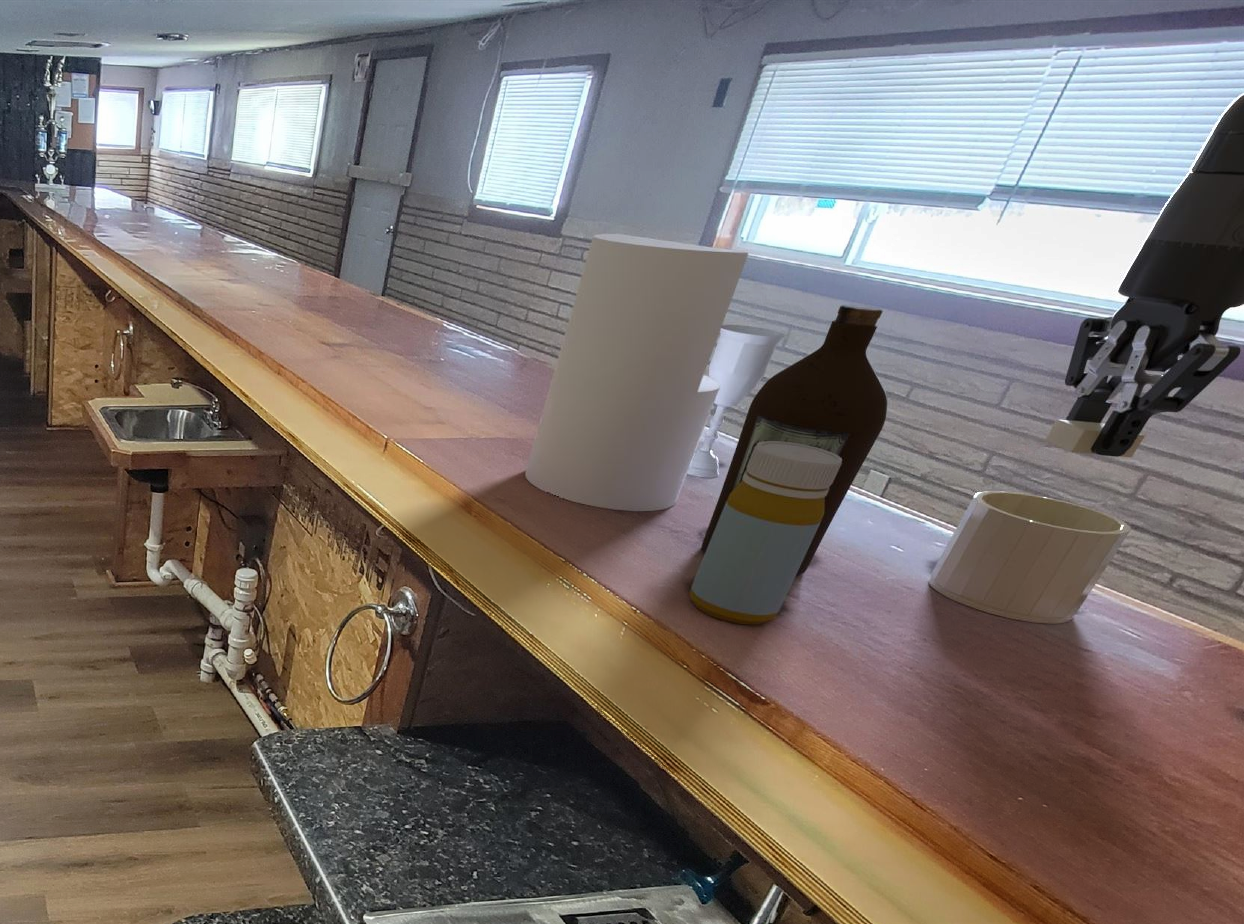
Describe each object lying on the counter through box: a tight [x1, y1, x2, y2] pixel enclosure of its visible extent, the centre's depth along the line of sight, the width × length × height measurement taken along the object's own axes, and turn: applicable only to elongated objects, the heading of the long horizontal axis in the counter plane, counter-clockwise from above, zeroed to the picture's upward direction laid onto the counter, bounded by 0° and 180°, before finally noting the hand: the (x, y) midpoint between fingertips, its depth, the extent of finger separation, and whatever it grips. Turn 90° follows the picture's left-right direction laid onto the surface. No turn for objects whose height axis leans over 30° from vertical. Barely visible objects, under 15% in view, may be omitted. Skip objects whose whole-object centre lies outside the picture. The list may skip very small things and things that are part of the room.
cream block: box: [1044, 419, 1146, 458], centre depth 81 cm, size 5×4×2 cm
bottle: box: [688, 441, 842, 626], centre depth 80 cm, size 7×7×15 cm
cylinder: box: [524, 233, 749, 512], centre depth 106 cm, size 17×17×28 cm
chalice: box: [687, 324, 786, 479], centre depth 116 cm, size 7×7×18 cm
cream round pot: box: [928, 490, 1132, 625], centre depth 86 cm, size 11×11×9 cm
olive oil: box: [701, 304, 889, 577], centre depth 88 cm, size 11×11×25 cm
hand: (1088, 446), depth 81 cm, fingers closed on cream block, 3 cm apart
